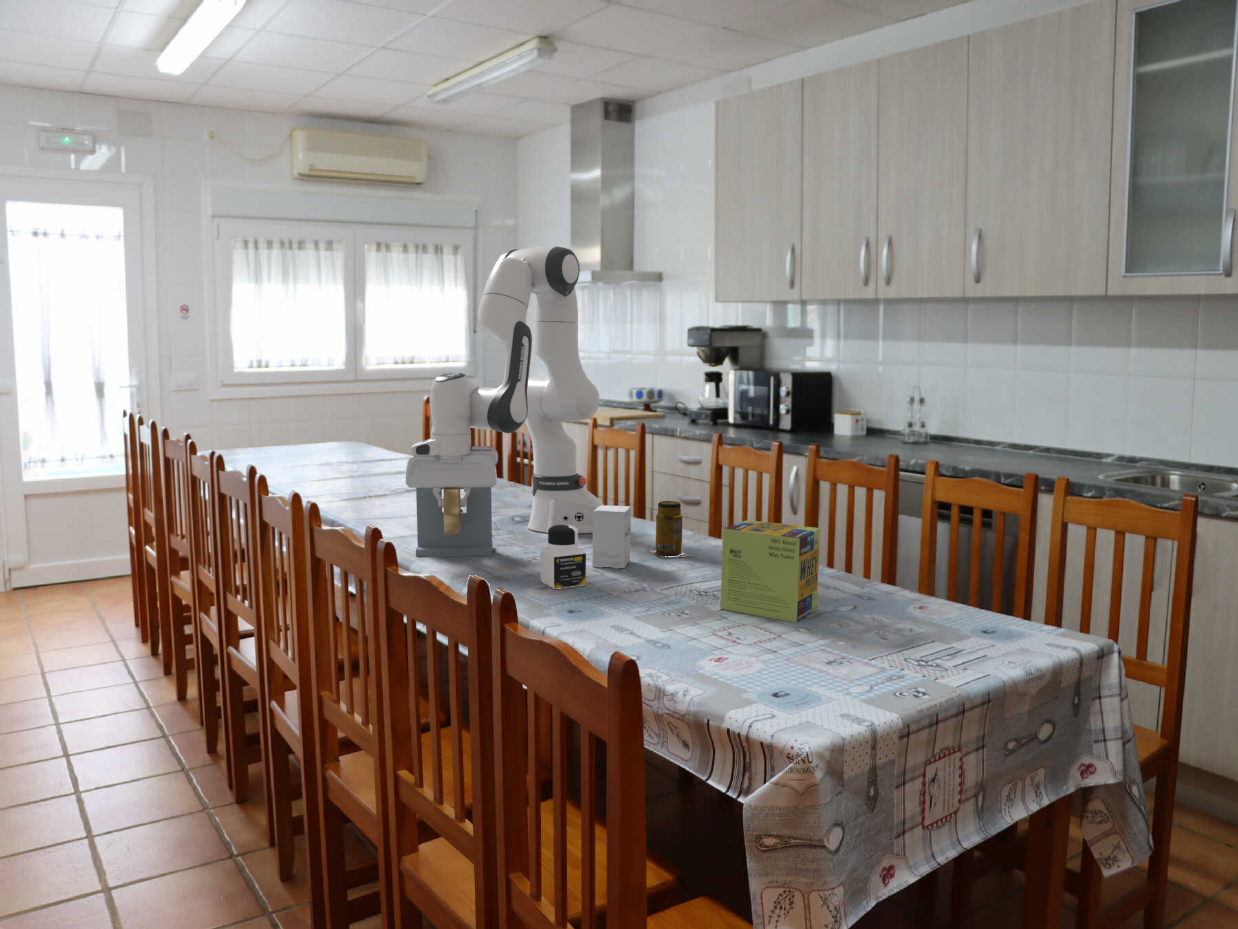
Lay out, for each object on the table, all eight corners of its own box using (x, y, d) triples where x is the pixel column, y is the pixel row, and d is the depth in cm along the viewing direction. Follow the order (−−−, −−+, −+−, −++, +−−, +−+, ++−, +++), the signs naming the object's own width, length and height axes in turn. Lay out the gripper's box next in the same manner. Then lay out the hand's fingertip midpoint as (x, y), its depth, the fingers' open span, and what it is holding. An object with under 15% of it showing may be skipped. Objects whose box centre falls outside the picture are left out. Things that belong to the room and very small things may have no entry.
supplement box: (624, 569, 211) (625, 511, 209) (591, 567, 212) (591, 510, 210) (631, 561, 218) (631, 505, 216) (599, 559, 219) (599, 504, 217)
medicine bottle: (554, 590, 194) (553, 531, 192) (540, 582, 200) (539, 524, 198) (586, 586, 197) (586, 528, 195) (571, 578, 203) (571, 521, 201)
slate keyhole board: (492, 547, 231) (491, 476, 228) (491, 555, 223) (490, 481, 220) (420, 548, 229) (418, 476, 227) (415, 556, 221) (413, 482, 219)
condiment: (676, 549, 230) (677, 499, 228) (691, 557, 222) (692, 505, 220) (648, 551, 228) (648, 500, 226) (662, 559, 220) (662, 507, 218)
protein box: (797, 623, 173) (800, 537, 171) (719, 609, 181) (721, 528, 179) (818, 609, 182) (821, 527, 180) (743, 596, 190) (745, 518, 188)
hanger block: (464, 525, 228) (463, 482, 226) (460, 534, 218) (459, 489, 216) (446, 525, 227) (446, 482, 226) (442, 534, 218) (441, 490, 216)
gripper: (498, 444, 222) (499, 504, 224) (407, 444, 220) (409, 504, 222) (497, 447, 216) (497, 509, 218) (403, 447, 214) (405, 509, 216)
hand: (452, 506), depth 220 cm, fingers closed on hanger block, 3 cm apart
